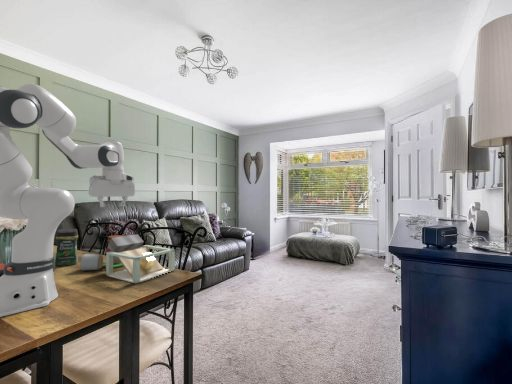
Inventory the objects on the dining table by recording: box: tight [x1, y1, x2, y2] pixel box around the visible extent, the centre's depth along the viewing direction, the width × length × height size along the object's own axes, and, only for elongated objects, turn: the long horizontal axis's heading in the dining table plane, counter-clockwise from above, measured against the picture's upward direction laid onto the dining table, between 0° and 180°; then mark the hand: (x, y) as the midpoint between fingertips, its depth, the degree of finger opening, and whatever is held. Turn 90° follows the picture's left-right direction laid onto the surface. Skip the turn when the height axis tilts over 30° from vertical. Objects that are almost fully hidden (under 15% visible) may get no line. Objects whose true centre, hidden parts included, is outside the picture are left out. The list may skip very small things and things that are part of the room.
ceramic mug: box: [79, 253, 104, 271], centre depth 132 cm, size 11×8×8 cm
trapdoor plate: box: [107, 234, 164, 278], centre depth 127 cm, size 16×24×5 cm
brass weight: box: [140, 252, 157, 271], centre depth 123 cm, size 4×5×6 cm
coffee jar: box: [54, 228, 79, 267], centre depth 140 cm, size 10×8×19 cm
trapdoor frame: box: [105, 244, 176, 284], centre depth 125 cm, size 21×21×10 cm
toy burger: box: [103, 234, 124, 269], centre depth 139 cm, size 12×13×15 cm
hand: (113, 206), depth 123 cm, fingers open, 8 cm apart
